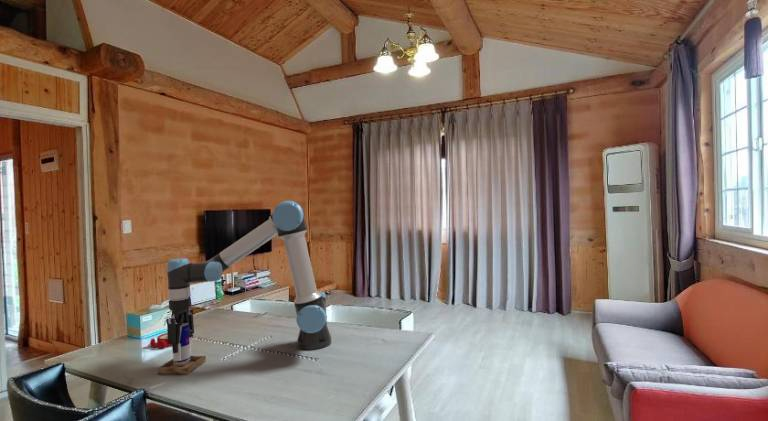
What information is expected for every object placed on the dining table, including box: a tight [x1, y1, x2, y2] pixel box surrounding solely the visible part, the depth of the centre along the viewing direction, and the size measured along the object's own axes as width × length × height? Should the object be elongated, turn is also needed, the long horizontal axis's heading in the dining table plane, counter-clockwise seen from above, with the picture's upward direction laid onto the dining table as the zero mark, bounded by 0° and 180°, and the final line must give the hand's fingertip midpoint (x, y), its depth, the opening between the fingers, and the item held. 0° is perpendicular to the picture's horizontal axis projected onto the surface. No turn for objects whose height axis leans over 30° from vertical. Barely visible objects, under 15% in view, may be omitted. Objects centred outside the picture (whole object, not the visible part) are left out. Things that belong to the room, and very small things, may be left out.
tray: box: [157, 355, 207, 376], centre depth 149 cm, size 12×12×2 cm
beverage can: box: [174, 322, 191, 364], centre depth 149 cm, size 6×6×15 cm
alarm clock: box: [147, 332, 172, 350], centre depth 176 cm, size 10×6×15 cm
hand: (182, 357), depth 149 cm, fingers closed on beverage can, 5 cm apart
